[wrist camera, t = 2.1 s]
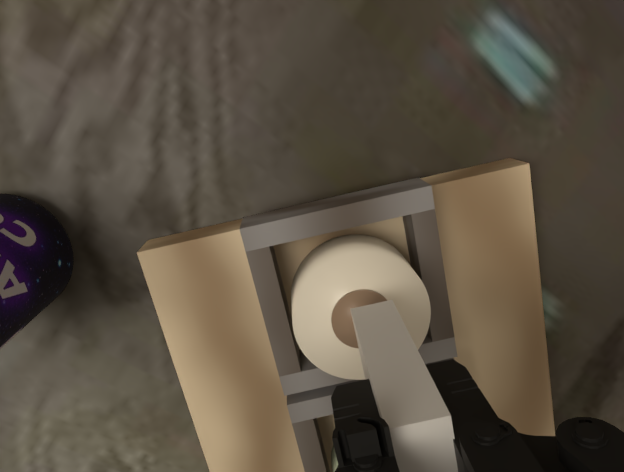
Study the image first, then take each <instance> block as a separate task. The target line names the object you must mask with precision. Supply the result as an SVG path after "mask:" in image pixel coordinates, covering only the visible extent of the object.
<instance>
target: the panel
mask: <svg viewBox="0 0 624 472" xmlns="http://www.w3.org/2000/svg"><path fill="white" fill-rule="evenodd" d="M350 234H361V235H368V236H373V237H376V238H379V239H381V240H383V241H385V242H387V243H389V244H390V245H392V246H393V247H395V248H396V249H397V250H398V251H399V252H400V253H401V254H402V255H403V257H404V258H405V259H406V260H407V262H408V263H409V264H410V266H411V267H412V268H413V270H414V271H415V272H416V274H417V275H418V276H419V278H420V279H421V281H422V282H423V284H424V286H425V288H426V290H427V293H428V296H429V300H430V307H431V318H430V324H429V329H428V332H427V335H426V337H425V339H424V341H423V343H422V345H421V346H420V348H419V349H418V351H419V353H420V355H421V357H422V359H423V361H424V363H425V365H428V364H433V363H438V362H442V361H447V360H451V359H453V360H455V361H457V362H458V363H460V364H462V365H463V366H465V367H466V368H467V370H468V371H469V373H470V375H471V376H472V378H473V379H474V381H475V382H476V384H477V385H478V388H480V390H481V392H482V393H483V395H484V396H485V398H486V399H487V401H488V402H489V404H490V405H491V407H492V409H493V410H494V412H495V413H496V415H497V416H498V418H500V419H502V420H504V421H506V422H509V423H510V424H511V425H512V426H513V427H514V428H515V429H516V430H517V432H518V433H522V434H526V435H534V436H555V427H554V416H553V406H552V395H551V385H550V374H549V364H548V353H547V343H546V333H545V322H544V312H543V301H542V291H541V280H540V270H539V259H538V249H537V238H536V228H535V217H534V207H533V196H532V186H531V175H530V165H529V163H526V162H522V161H519V160H515V159H512V158H507V159H503V160H498V161H494V162H490V163H485V164H481V165H476V166H472V167H468V168H463V169H459V170H454V171H450V172H446V173H441V174H437V175H432V176H428V177H424V178H419V177H418V178H414V179H409V180H405V181H401V182H396V183H392V184H387V185H383V186H379V187H374V188H370V189H365V190H361V191H357V192H352V193H348V194H343V195H339V196H335V197H330V198H326V199H321V200H317V201H313V202H308V203H304V204H299V205H295V206H291V207H286V208H282V209H277V210H273V211H269V212H264V213H260V214H255V215H251V216H247V217H243V219H239V220H234V221H230V222H225V223H221V224H217V225H212V226H208V227H203V228H199V229H195V230H190V231H186V232H181V233H177V234H173V235H168V236H164V237H159V238H155V239H151V240H148V241H147V242H146V243H145V244H144V245H143V246H142V247H141V248H140V250H139V251H138V252H137V255H138V258H139V261H140V264H141V267H142V270H143V273H144V276H145V279H146V282H147V285H148V288H149V291H150V294H151V297H152V300H153V303H154V306H155V309H156V312H157V315H158V318H159V321H160V324H161V327H162V330H163V333H164V336H165V339H166V342H167V345H168V348H169V351H170V354H171V357H172V360H173V363H174V366H175V369H176V372H177V375H178V378H179V381H180V384H181V387H182V390H183V393H184V396H185V399H186V402H187V405H188V408H189V411H190V414H191V417H192V420H193V423H194V426H195V429H196V432H197V435H198V438H199V441H200V444H201V447H202V450H203V453H204V456H205V459H206V462H207V465H208V468H209V471H210V472H333V471H332V463H331V452H332V447H333V441H332V435H333V431H334V429H335V422H334V415H333V408H332V402H331V396H332V394H333V392H334V390H335V388H336V386H338V385H343V384H348V383H352V382H357V381H361V380H352V379H344V378H339V377H336V376H333V375H330V374H328V373H326V372H324V371H322V370H321V369H319V368H318V367H316V366H315V365H314V364H313V363H311V362H310V361H309V360H308V358H307V357H306V356H305V355H304V354H303V352H302V351H301V349H300V347H299V345H298V343H297V341H296V338H295V335H294V331H293V325H292V307H291V288H292V282H293V279H294V276H295V273H296V271H297V269H298V267H299V265H300V264H301V262H302V261H303V260H304V258H305V257H306V256H307V255H308V254H309V253H310V252H311V251H312V250H313V249H315V248H316V247H317V246H319V245H320V244H322V243H324V242H325V241H328V240H330V239H332V238H335V237H339V236H343V235H350ZM364 380H366V379H364Z"/></svg>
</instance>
